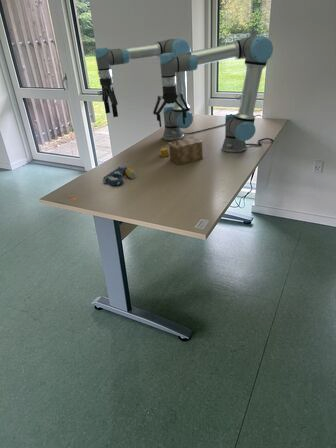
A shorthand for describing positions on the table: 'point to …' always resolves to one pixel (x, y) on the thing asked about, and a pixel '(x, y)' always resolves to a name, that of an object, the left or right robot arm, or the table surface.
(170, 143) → the lid
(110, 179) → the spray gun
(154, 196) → the table surface
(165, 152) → the block
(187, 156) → the chest
